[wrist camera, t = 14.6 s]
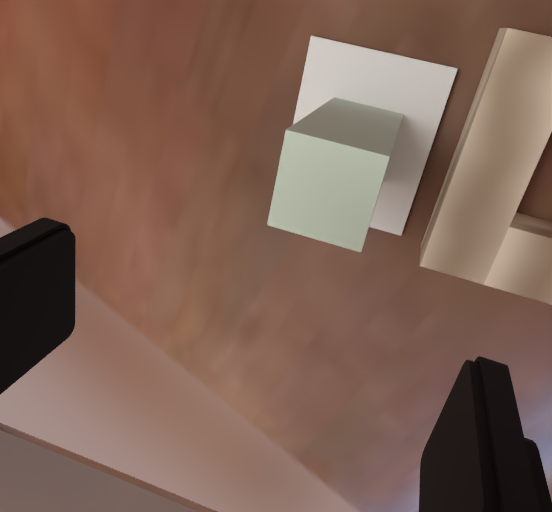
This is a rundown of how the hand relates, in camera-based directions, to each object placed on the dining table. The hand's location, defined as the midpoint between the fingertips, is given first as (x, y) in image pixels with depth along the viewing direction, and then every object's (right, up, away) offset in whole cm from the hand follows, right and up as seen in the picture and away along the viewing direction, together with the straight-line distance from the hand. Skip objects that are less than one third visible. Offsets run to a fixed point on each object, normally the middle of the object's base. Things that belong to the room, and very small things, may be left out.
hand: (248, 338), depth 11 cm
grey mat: (+6, +10, +22) cm, 24 cm away
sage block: (+6, +9, +21) cm, 24 cm away
